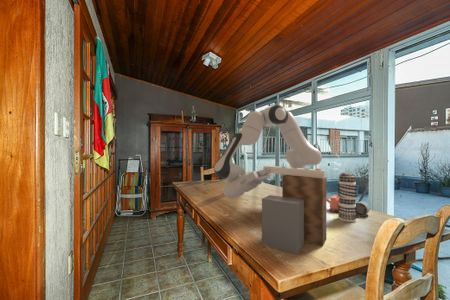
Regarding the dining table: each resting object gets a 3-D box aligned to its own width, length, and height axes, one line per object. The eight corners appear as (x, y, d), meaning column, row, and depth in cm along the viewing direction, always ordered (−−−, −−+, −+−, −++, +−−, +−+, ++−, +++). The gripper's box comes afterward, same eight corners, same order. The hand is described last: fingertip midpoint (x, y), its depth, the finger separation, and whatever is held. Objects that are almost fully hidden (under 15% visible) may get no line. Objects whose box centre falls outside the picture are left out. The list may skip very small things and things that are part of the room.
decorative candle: (336, 220, 110) (336, 173, 110) (338, 215, 118) (338, 171, 118) (356, 223, 105) (356, 174, 105) (357, 218, 113) (357, 172, 113)
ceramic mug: (370, 214, 120) (370, 201, 120) (367, 217, 114) (367, 203, 114) (349, 211, 127) (349, 198, 127) (346, 214, 121) (345, 201, 121)
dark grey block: (261, 244, 81) (261, 198, 81) (270, 237, 88) (270, 195, 88) (297, 254, 73) (297, 203, 73) (303, 246, 80) (303, 199, 80)
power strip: (263, 172, 96) (263, 165, 96) (266, 171, 100) (266, 164, 100) (323, 178, 81) (324, 169, 81) (325, 177, 85) (325, 169, 84)
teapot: (323, 208, 133) (323, 193, 133) (341, 207, 134) (341, 193, 134) (333, 213, 122) (333, 197, 122) (353, 213, 122) (353, 196, 122)
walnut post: (282, 236, 89) (282, 176, 89) (288, 230, 95) (288, 174, 95) (322, 246, 79) (322, 179, 80) (326, 239, 86) (326, 177, 86)
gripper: (235, 177, 95) (258, 163, 89) (255, 173, 112) (276, 161, 105) (241, 190, 94) (265, 176, 87) (260, 184, 110) (282, 172, 103)
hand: (271, 168), depth 96 cm, fingers closed on power strip, 4 cm apart
